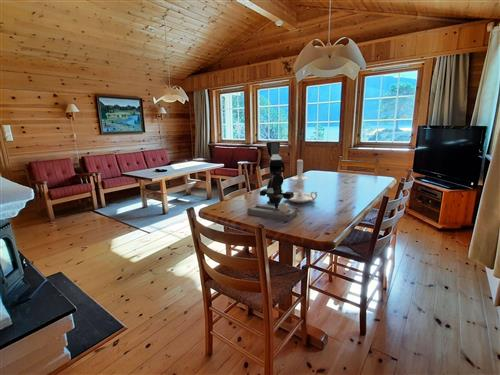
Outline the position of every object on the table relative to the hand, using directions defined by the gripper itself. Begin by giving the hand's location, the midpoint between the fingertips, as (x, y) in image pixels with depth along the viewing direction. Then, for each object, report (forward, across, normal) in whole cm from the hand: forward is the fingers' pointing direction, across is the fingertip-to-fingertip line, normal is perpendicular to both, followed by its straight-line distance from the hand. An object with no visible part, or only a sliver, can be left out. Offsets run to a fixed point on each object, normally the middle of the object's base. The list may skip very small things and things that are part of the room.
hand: (276, 208), depth 152 cm
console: (+4, -3, 0) cm, 5 cm away
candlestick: (+4, +3, +32) cm, 32 cm away
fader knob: (+2, +5, 0) cm, 5 cm away
